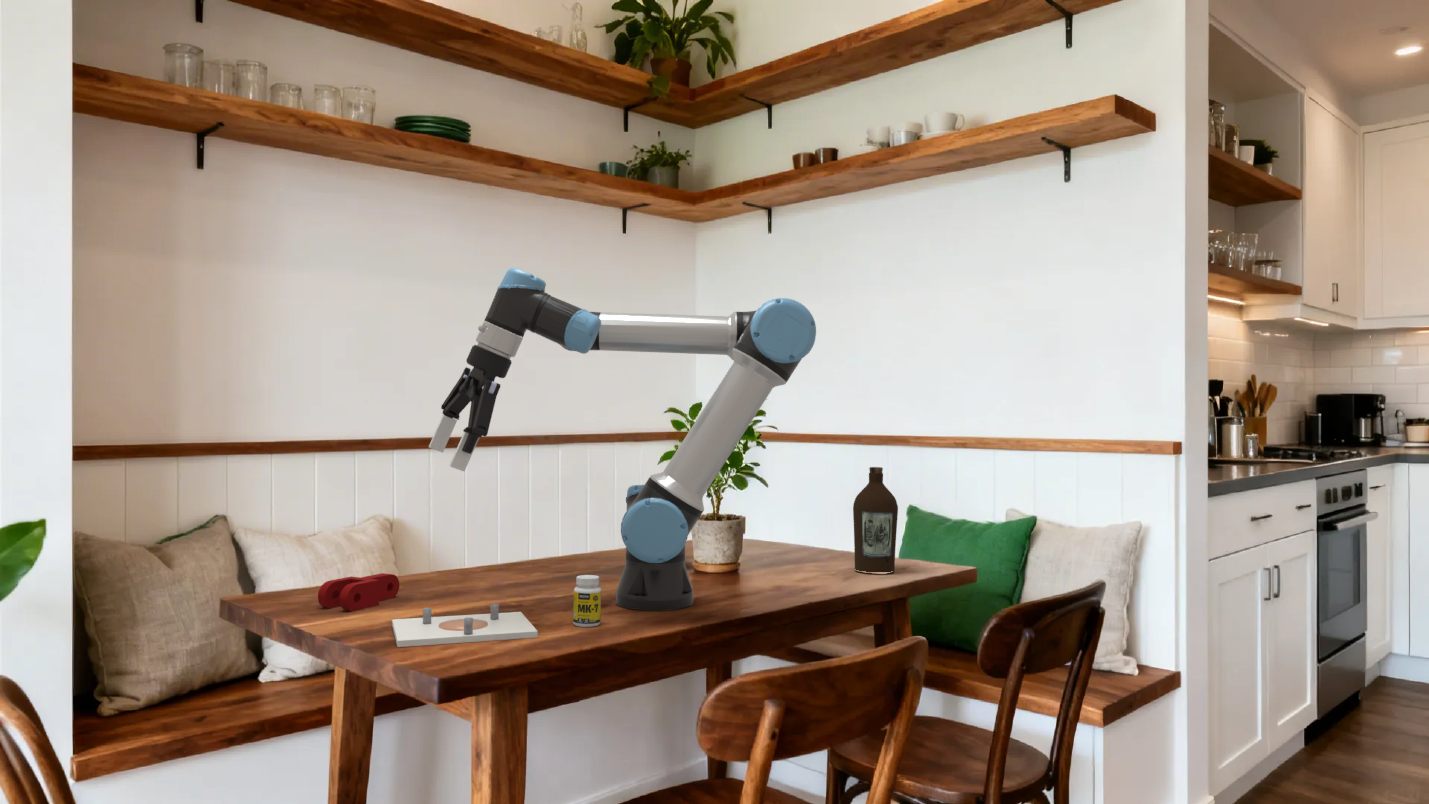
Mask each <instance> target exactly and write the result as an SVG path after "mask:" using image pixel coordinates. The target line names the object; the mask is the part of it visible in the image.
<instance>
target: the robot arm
mask: <svg viewBox="0 0 1429 804" xmlns="http://www.w3.org/2000/svg"><path fill="white" fill-rule="evenodd" d="M546 287H547V284H546V282H545V280H543V279H542V278H540V277H538V276H535V275H534V274H532V273H530V272H527V271H525V270H523V269H522V268H521V269H520V268H519V267H511V268H508V270H507V271H506V272H505V274H504V276H503V278H502V280H501V282H500V284H499V286H497V288H496V289H497V290H496V292H495V295H494V298H493V299H492V302H491V304H490V307H489V308H488V311H487V313H486V316H485V318H484V321H483V323H482V325H479V326H478V327H477V330H478V334H477V336H476V338H475V340H476V342H477V344H474V345H472V347H471V349H470V351H469V353H468V355H467V358H466V364H468V365H469V366H472V368H470V367H467V366H466V367H464V369H463V370H462V371H463V372H462V373H461V375H460V377H459V379H458V380H457V382H456V383H455V385H454V386H453V387H452V389H451V391H450V393H449V394H448V395H447V397H446V398H445V400H444V401H443V403H442V404H441V410H442V416H441V418H440V420H439V423H438V425H437V427H436V429H435V431H434V433H433V436H432V438H431V441H430V443H429V444H428V448H429V449H432V450H435V451H438V452H440V453H444V451H445V449H446V446H447V444H448V442H449V440H450V438H451V435H452V433H453V431H454V428H455V426H456V424H457V422H458V421H459V420H460V413H462V411H463V410H464V409H465V408H466V407H467V406H468V404H470V409H469V417H468V421H467V422H468V425H467V426H466V427H465V428H464V429H463V430H462V432H463V433H462V436H461V437H460V441H459V443H458V445H457V447H456V448H455V452H454V454H453V455H452V459H451V461H450V462H449V467H450V468H452V469H456V470H458V471H461V472H465V471H466V469H467V466H468V464H469V462H470V460H471V457H472V455H473V453H474V451H475V449H476V447H477V445H478V442H479V440H480V438H482V437H486V436H488V433H489V429H490V424H491V420H492V417H493V412H494V408H495V404H496V400H497V396H498V394H499V391H500V388H501V384H500V383H498V382H495V379H496V378H499V379H505V378H506V376H507V374H508V372H509V370H510V368H511V365H512V360H511V358H515V357H516V355H517V353H518V350H519V348H520V346H521V344H522V341H523V338H524V337H525V334H526V331H529V332H531V333H533V334H536V335H538V336H541V337H542V338H545V339H547V340H549V341H551V342H553V343H556V344H558V345H560V346H561V347H562V348H563V349H565V350H567V351H570V352H577V353H579V354H583V355H584V354H588V353H589V352H590V351H604V352H605V351H609V352H612V351H613V352H634V353H635V352H636V353H637V352H639V353H659V354H660V353H661V354H662V353H665V354H667V353H668V354H669V353H670V354H688V355H689V354H697V355H722V356H727V357H728V358H730V359H731V360H732V361H733V362H732V365H731V366H730V368H729V369H728V371H727V372H726V374H725V375H724V377H723V379H722V380H721V382H720V383H719V385H718V386H717V387H716V389H715V391H714V392H713V394H712V395H711V396H710V399H708V401H707V402H706V405H705V406H704V408H703V409H702V410H701V412H700V414H699V416H698V417H697V418H696V420H695V421H694V423H693V424H692V427H691V428H690V429H689V431H688V432H687V434H686V436H685V437H684V439H683V440H682V442H681V443H680V445H679V446H678V448H677V450H676V451H675V452H674V454H673V455H672V457H671V458H670V460H669V462H668V463H667V465H666V466H665V468H664V470H663V471H661V472H660V473H659V472H658V473H655V474H650V476H649V478H648V479H647V480H646V482H645V484H635V485H634V484H633V485H631V486H629V487H628V489H627V493H626V497H625V503H626V512H625V513H624V515H623V516H622V520H621V523H620V534H621V539H622V542H623V544H624V546H625V564H624V568H623V570H622V574H621V576H620V579H619V582H618V585H617V588H616V592H615V604H616V605H617V606H620V607H622V608H626V609H631V610H639V611H671V610H672V611H673V610H678V609H679V610H680V609H685V608H689V607H692V606H693V604H694V589H693V587H692V583H691V579H690V576H689V573H688V569H687V566H686V543H687V540H688V536H689V535H690V533H691V531H692V530H693V528H694V527H695V525H696V524H697V522H698V521H699V519H700V518H701V516H702V514H703V512H704V511H705V507H704V501H703V500H704V499H703V498H704V496H705V494H706V493H707V491H708V489H709V488H710V486H711V485H712V483H713V482H714V480H715V479H716V477H717V476H718V474H719V473H720V471H721V469H722V468H723V467H724V465H725V463H726V462H727V460H728V458H730V455H731V454H732V453H733V451H734V449H735V448H736V446H737V444H738V443H739V442H740V440H741V439H742V437H743V435H744V434H745V432H746V431H747V429H748V428H749V426H750V425H751V423H752V421H753V420H754V418H755V417H756V415H757V414H758V412H759V410H760V409H761V407H762V406H763V404H764V403H765V401H767V398H768V396H769V395H770V393H771V392H772V390H773V389H774V388H777V387H779V386H784V385H786V384H787V382H788V381H789V379H790V378H791V376H792V375H793V373H794V372H795V370H796V369H797V367H798V366H799V364H800V363H801V360H803V359H804V358H805V357H806V356H807V355H808V354H809V353H810V352H811V351H812V349H813V347H814V345H815V342H816V336H817V325H816V321H815V319H814V317H813V314H812V312H811V311H810V310H809V309H808V308H807V307H806V305H804V304H802V303H801V302H799V301H797V300H795V299H792V298H787V297H786V298H785V297H780V298H779V297H777V298H772V299H771V300H767V301H765V302H764V303H763V304H762V305H761V306H759V307H758V308H757V309H756V310H751V311H750V310H749V311H733V312H732V313H731V314H730V315H728V316H727V315H726V316H722V315H720V316H719V315H698V314H697V315H696V314H695V315H691V314H667V313H666V314H663V313H661V314H660V313H636V312H635V313H633V312H631V313H630V312H629V313H628V312H606V311H600V312H599V311H589V310H586V309H585V308H581V307H579V306H576V305H574V304H571V303H569V302H566V301H565V300H562V299H559V298H557V297H554V296H552V295H551V294H549V293H547V292H546Z"/></svg>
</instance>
